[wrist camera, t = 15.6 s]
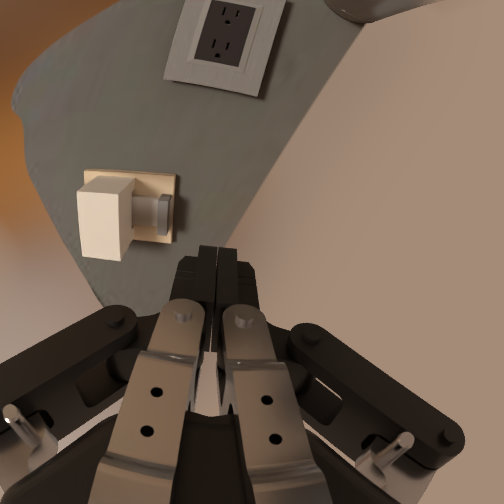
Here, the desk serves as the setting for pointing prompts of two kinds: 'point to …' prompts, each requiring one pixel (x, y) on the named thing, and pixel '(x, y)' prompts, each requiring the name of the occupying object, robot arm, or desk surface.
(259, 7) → the electrical outlet
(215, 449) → the robot arm
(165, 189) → the rail board
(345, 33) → the desk surface
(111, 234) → the white rectangular block
